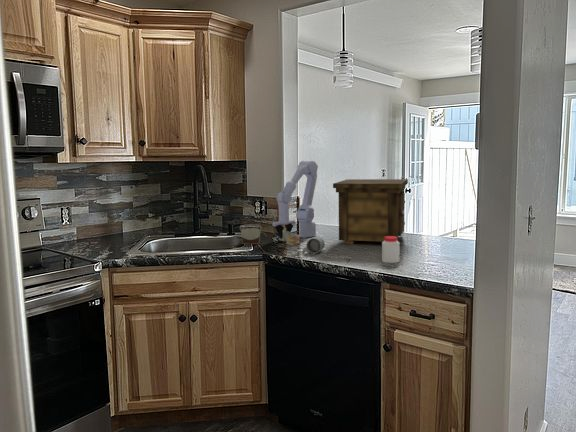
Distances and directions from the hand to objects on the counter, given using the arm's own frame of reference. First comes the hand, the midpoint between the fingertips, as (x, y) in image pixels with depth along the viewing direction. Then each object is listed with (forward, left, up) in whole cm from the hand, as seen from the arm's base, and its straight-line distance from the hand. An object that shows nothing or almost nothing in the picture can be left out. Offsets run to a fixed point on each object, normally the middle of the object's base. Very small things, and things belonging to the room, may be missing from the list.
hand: (284, 237), depth 272 cm
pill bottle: (-5, +74, -2) cm, 74 cm away
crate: (-35, +34, -2) cm, 49 cm away
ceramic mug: (+8, +36, -2) cm, 37 cm away
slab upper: (+3, +12, +1) cm, 12 cm away
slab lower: (+3, +12, -2) cm, 12 cm away
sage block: (0, 0, -1) cm, 1 cm away
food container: (+18, -6, -2) cm, 19 cm away
